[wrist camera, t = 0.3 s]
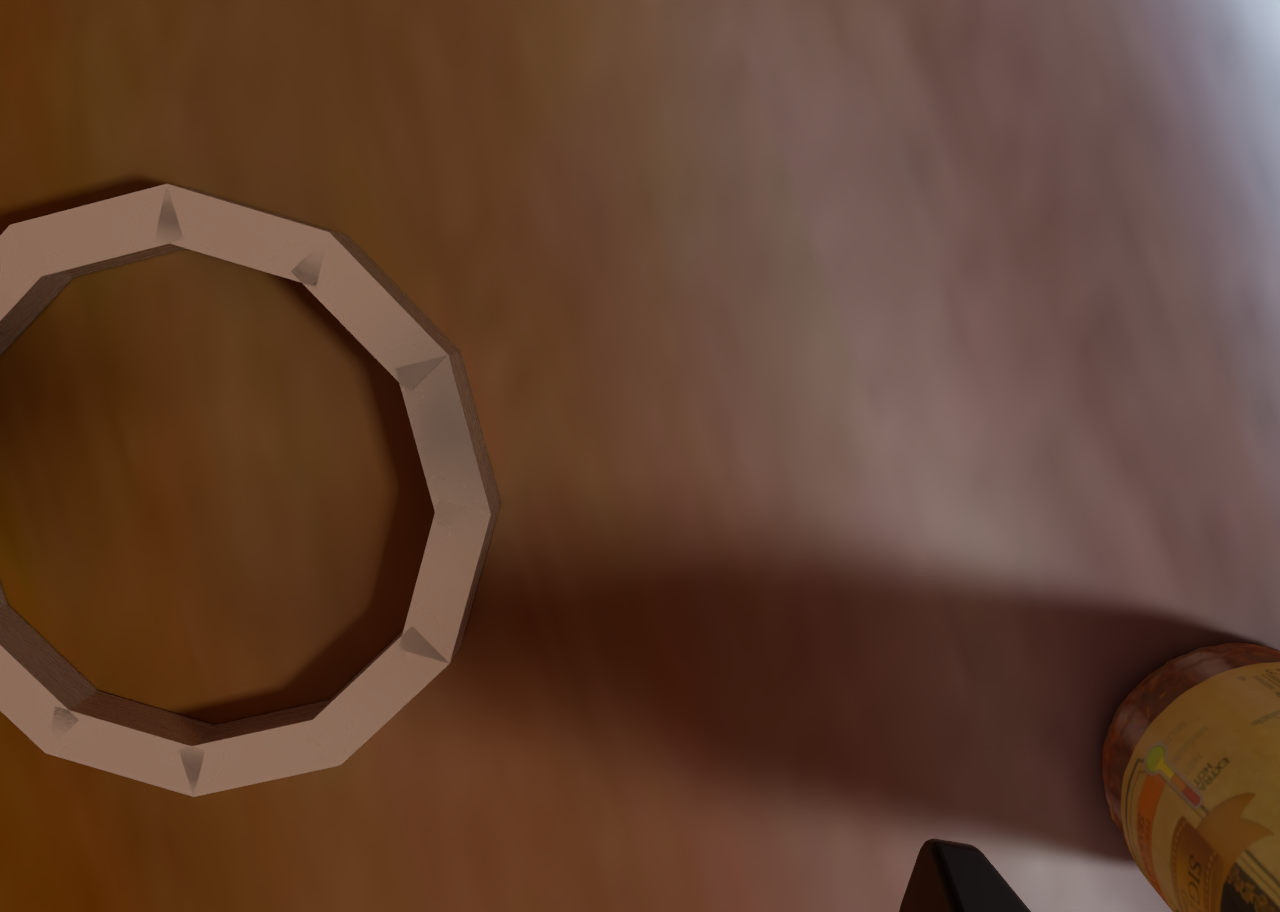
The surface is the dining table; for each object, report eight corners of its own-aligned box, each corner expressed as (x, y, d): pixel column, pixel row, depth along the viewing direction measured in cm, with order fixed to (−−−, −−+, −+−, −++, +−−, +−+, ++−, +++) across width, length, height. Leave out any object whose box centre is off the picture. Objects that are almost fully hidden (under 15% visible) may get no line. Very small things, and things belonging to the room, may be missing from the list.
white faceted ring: (220, 869, 26) (198, 897, 25) (-189, 481, 25) (-233, 491, 24) (610, 507, 24) (606, 518, 23) (187, 70, 23) (161, 58, 22)
